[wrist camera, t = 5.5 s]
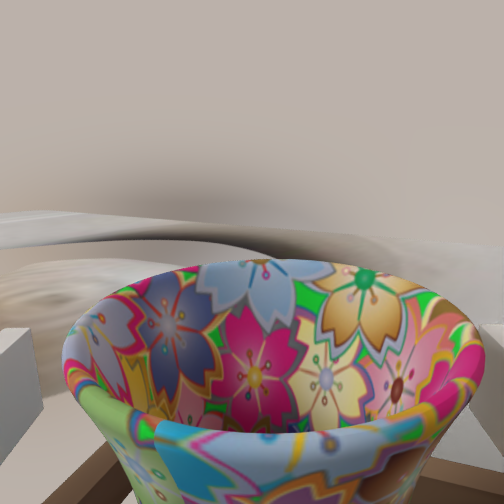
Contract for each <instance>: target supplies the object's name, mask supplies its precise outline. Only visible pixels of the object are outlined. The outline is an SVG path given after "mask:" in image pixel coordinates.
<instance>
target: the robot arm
mask: <svg viewBox="0 0 504 504" xmlns="http://www.w3.org/2000/svg"><path fill="white" fill-rule="evenodd" d="M478 332H479V334H480V337H481V339H482V342H483V345H484V350H485V356H486V357H485V369H484V374H483V377H482V380H481V383H480V385H479V387H478V389H477V390H476V392H475V394H474V396H473V397H472V399H471V400H470V405H469V408H470V410H471V411H472V412H473V414H474V415H475V417H476V418H477V420H478V421H479V422H480V424H481V425H482V427H483V428H484V430H485V431H486V432H487V434H488V435H489V437H490V438H491V440H492V441H493V442H494V444H495V445H496V447H497V448H498V450H499V451H500V452H501V454H502V455H503V457H504V324H479V331H478ZM42 410H43V402H42V395H41V389H40V383H39V377H38V371H37V365H36V359H35V353H34V347H33V341H32V335H31V329H30V328H4V329H3V330H2V331H1V332H0V465H1V464H2V463H3V461H4V460H5V459H6V457H7V456H8V454H9V453H10V452H11V451H12V450H13V448H14V447H15V446H16V444H17V443H18V442H19V440H20V439H21V438H22V436H23V435H24V434H25V432H26V431H27V430H28V429H29V427H30V426H31V425H32V423H33V422H34V420H35V419H36V418H37V417H38V415H39V414H40V413H41V411H42Z"/></svg>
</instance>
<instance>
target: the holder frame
mask: <svg viewBox="0 0 504 504" xmlns="http://www.w3.org/2000/svg"><path fill="white" fill-rule="evenodd" d="M132 490H133V488H132V486H131V483H130V481H129V479H128V477H127V475H126V473H125V471H124V469H123V467H122V465H121V463H120V461H119V459H118V457H117V456H116V454H115V452H114V451H113V449H112V447H111V446H110V444H109V443H108V441H106V442H105V443H104V444H103V445H102V446H101V447H100V448H99V449H98V450H97V451H96V452H95V453H94V454H93V455H92V456H91V457H90V458H88V459H87V460H86V461H85V462H84V463H83V464H82V465H81V466H80V467H79V468H78V469H77V470H76V471H75V472H74V473H73V474H72V475H71V476H70V477H69V478H68V479H67V480H66V481H65V482H64V483H63V484H62V485H61V486H60V487H59V488H58V489H56V491H54V492H53V493H52V494H51V495H50V496H49V497H48V498H47V499H46V500H45V501H44V502H43V503H42V504H121V503H122V502H123V500H124V499H125V498H126V497H127V496H128V494H129V493H130V492H131V491H132ZM409 504H504V473H501V472H497V471H492V470H488V469H483V468H479V467H474V466H470V465H465V464H461V463H456V462H452V461H447V460H443V459H438V458H434V457H429V459H428V461H427V463H426V465H425V467H424V469H423V471H422V473H421V475H420V477H419V479H418V481H417V483H416V486H415V488H414V491H413V493H412V496H411V499H410V503H409Z"/></svg>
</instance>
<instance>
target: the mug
mask: <svg viewBox="0 0 504 504" xmlns="http://www.w3.org/2000/svg"><path fill="white" fill-rule="evenodd" d="M485 357H486V356H485V350H484V345H483V342H482V339H481V337H480V334H479V332H478V331H477V329H476V327H475V326H474V324H473V323H472V322H471V321H470V320H469V318H468V317H467V316H466V315H465V314H464V313H463V312H461V311H460V310H459V309H458V308H457V307H456V306H455V305H453V304H452V303H450V302H449V301H448V300H446V299H445V298H443V297H441V296H440V295H438V294H436V293H435V292H433V291H431V290H429V289H427V288H425V287H422V286H420V285H418V284H415V283H413V282H410V281H408V280H405V279H402V278H399V277H396V276H393V275H390V274H386V273H382V272H379V271H375V270H370V269H366V268H361V267H356V266H351V265H344V264H338V263H330V262H321V261H310V260H292V259H258V260H240V261H228V262H220V263H211V264H205V265H199V266H193V267H188V268H183V269H178V270H174V271H170V272H166V273H163V274H159V275H156V276H153V277H150V278H147V279H144V280H141V281H138V282H136V283H133V284H131V285H128V286H126V287H124V288H122V289H120V290H117V291H116V292H114V293H112V294H110V295H108V296H107V297H105V298H103V299H102V300H100V301H99V302H97V303H96V304H95V305H93V306H92V307H91V308H89V309H88V310H87V311H86V312H85V313H84V314H83V315H82V316H81V317H80V318H79V319H78V320H77V321H76V323H75V324H74V325H73V326H72V328H71V330H70V331H69V333H68V335H67V337H66V340H65V343H64V346H63V350H62V357H61V359H62V370H63V375H64V378H65V381H66V384H67V386H68V387H69V389H70V391H71V393H72V394H73V396H74V398H75V399H76V401H77V402H78V403H79V404H80V406H81V407H82V408H83V409H84V410H85V412H86V413H87V414H88V415H89V417H90V418H91V419H92V421H93V422H94V423H95V425H96V426H97V427H98V429H99V430H100V431H101V433H102V434H103V435H104V437H105V438H106V440H107V441H108V443H109V444H110V446H111V447H112V449H113V451H114V452H115V454H116V456H117V457H118V459H119V461H120V463H121V465H122V467H123V469H124V471H125V473H126V475H127V477H128V479H129V481H130V483H131V486H132V488H133V490H134V493H135V496H136V499H137V502H138V504H409V503H410V499H411V496H412V493H413V491H414V488H415V486H416V483H417V481H418V479H419V477H420V475H421V473H422V471H423V469H424V467H425V465H426V463H427V461H428V459H429V457H430V455H431V454H432V452H433V450H434V449H435V447H436V446H437V444H438V443H439V441H440V440H441V438H442V436H443V435H444V434H445V432H446V431H447V430H448V428H449V427H450V426H451V424H452V423H453V421H454V420H455V419H456V418H457V416H458V415H459V414H460V413H461V411H462V410H463V409H464V408H465V407H466V405H467V404H468V403H469V402H470V400H471V399H472V397H473V396H474V394H475V392H476V390H477V389H478V387H479V385H480V383H481V380H482V377H483V374H484V369H485Z"/></svg>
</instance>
